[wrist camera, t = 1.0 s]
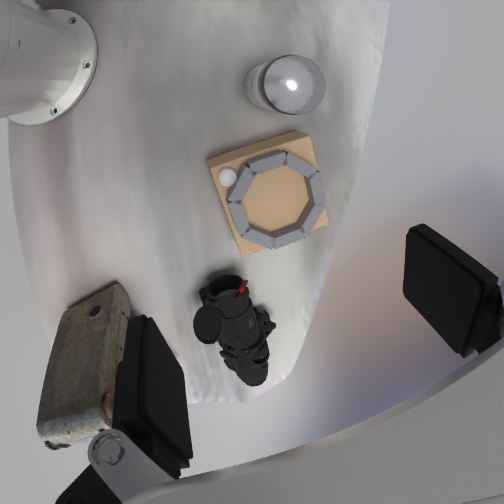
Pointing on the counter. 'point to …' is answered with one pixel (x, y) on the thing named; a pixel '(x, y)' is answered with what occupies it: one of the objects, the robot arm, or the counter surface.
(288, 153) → the mount
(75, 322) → the vintage camera
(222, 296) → the night vision scope
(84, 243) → the counter surface
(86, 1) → the counter surface
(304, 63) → the lens
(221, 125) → the counter surface
